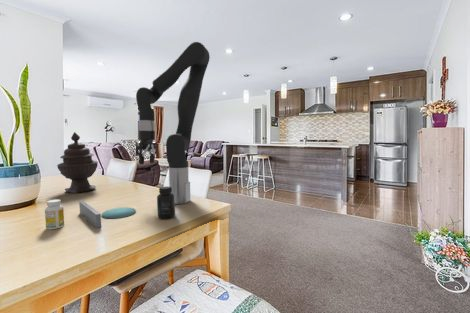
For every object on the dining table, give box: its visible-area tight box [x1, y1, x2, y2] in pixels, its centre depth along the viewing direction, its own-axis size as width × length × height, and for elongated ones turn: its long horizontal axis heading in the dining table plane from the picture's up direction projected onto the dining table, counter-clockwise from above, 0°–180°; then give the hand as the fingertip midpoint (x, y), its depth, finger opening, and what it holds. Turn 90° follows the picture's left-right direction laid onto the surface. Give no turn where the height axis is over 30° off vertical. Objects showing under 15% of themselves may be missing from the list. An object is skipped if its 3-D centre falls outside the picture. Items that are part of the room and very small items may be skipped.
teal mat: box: [100, 206, 137, 220], centre depth 105 cm, size 13×13×1 cm
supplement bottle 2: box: [156, 186, 176, 220], centre depth 100 cm, size 7×7×12 cm
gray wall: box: [78, 200, 102, 229], centre depth 97 cm, size 24×2×5 cm, turn 44°
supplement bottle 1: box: [44, 199, 65, 230], centre depth 89 cm, size 5×5×10 cm
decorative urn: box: [56, 131, 99, 194], centre depth 146 cm, size 20×20×35 cm
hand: (147, 163), depth 122 cm, fingers open, 8 cm apart
